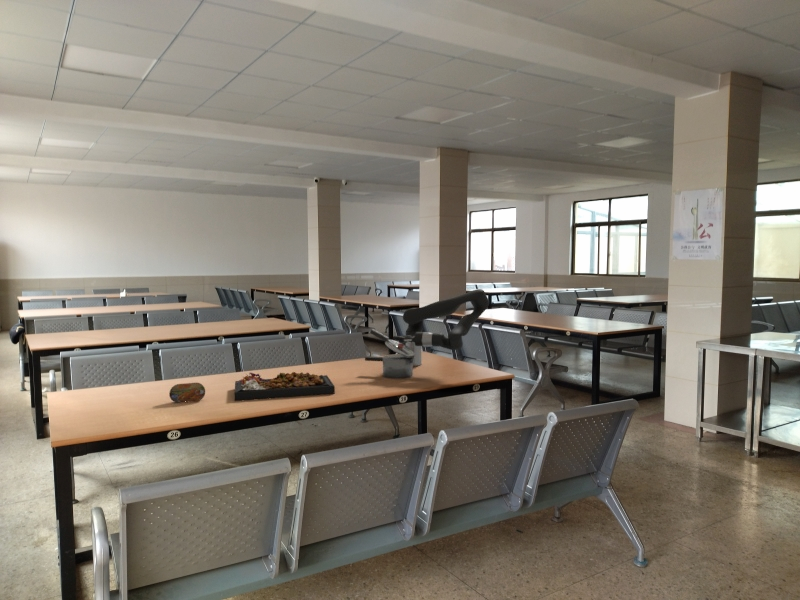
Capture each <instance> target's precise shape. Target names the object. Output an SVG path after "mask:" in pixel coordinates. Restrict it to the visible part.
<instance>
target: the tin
mask: <svg viewBox="0 0 800 600" xmlns="http://www.w3.org/2000/svg"><path fill="white" fill-rule="evenodd" d="M205 395H206V389H205V386H204V385H203V384H202V383H200V382H187V383H177V384H175V385H173V386H172V387H171V388H170V390H169V398H170V400H171V401H172V402H173V403H176V402H185V401H186V402H185V403H189V402H188V401H196V402H200V401H201V400H203V398H204V397H205Z"/></svg>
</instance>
